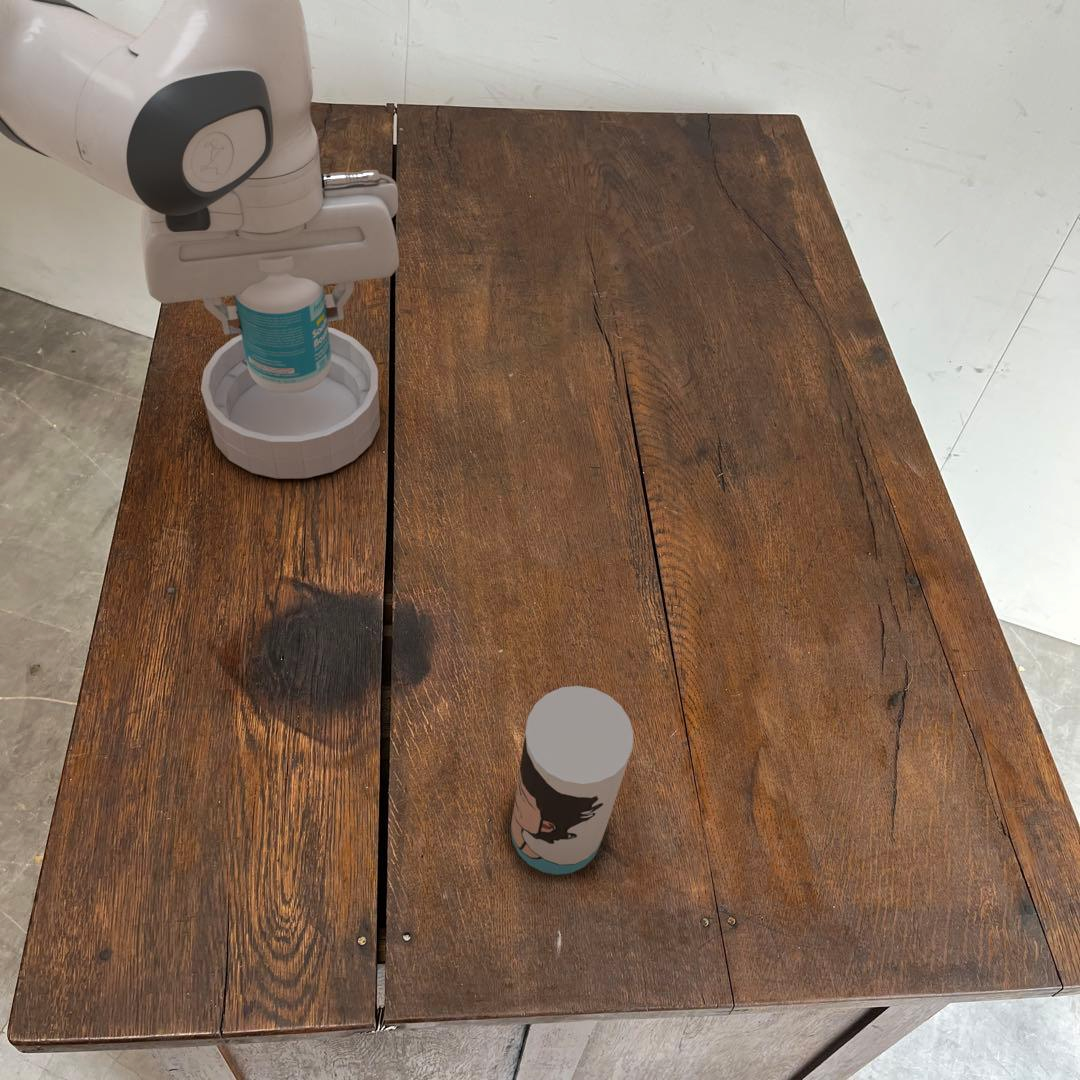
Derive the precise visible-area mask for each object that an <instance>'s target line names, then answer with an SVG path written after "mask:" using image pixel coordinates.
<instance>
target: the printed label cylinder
mask: <svg viewBox="0 0 1080 1080" xmlns="http://www.w3.org/2000/svg"><path fill="white" fill-rule="evenodd" d="M633 745H634V730H633V726H632V722H631V719H630V717H629V716H628V714H627V713H626V711H625V710H624V708H623V706H622V705H621V704H620V703H618V701H616V700H615V699H614V698H613V697H612V696H610V695H609V694H606V693H604V692H602V691H600V690H598V689H597V688H594V687H588V686H581V685H573V686H572V685H571V686H563V687H560V688H557V689H554V690H553V691H549V692H548V693H546V694H545V695H544V696H543V697H542V698H540V699H539V700H538V701H537V702H535V704H534V706H533V707H532V709H531V711H530V712H529V714H528V716H527V721H526V726H525V732H524V739H523V745H522V753H521V759H520V766H519V772H518V776H517V777H518V779H517V785H516V792H515V798H514V802H513V803H514V805H513V811H512V816H511V817H512V818H511V824H510V834H511V840H512V843H513V846H514V847H515V849H516V852H517V854H518V856H520V857H521V859H523V860H524V862H526V864H528V865H529V866H530V867H531V868H534V869H535V870H538V871H540V872H542V873H544V874H545V873H546V874H551V875H556V876H559V875H567V874H573V873H574V872H577V871H578V870H581V869H583V868H585V867H586V866H588V864H589V863H590V862H591V861H592V860H593V859H594V858H595V857H596V855H597V853H598V850H599V849H600V846H601V844H602V842H603V838H604V835H605V833H606V829H607V826H608V823H609V820H610V818H611V814H612V812H613V808H614V805H615V803H616V800H617V796H618V793H619V790H620V787H621V785H622V781H623V778H624V775H625V772H626V769H627V766H628V763H629V761H630V757H631V755H632V752H633Z"/></svg>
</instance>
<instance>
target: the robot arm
mask: <svg viewBox="0 0 1080 1080" xmlns="http://www.w3.org/2000/svg"><path fill="white" fill-rule="evenodd" d="M307 31H308V30H307V25H306V21H305V16H304V11H303V8H302V4H301V1H300V0H164V1H163V3H162V5H161V7H160V9H159V10H158V12H157V13H156V15H155V16H154V18H153V20H152V21H151V22H150V23H149V25H148V26H147V27H146V28H145V29H144V31H143V32H142V33H141V34H139V35H138V36H136V35H134V34H132V33H130V32H127V31H125V30H123V29H120V28H119V27H117V26H115V25H112V24H110V23H108V22H106V21H104V20H101V19H99V18H98V17H97V16H95V15H94V14H91V13H90V12H89V11H86V10H84V9H82V8H81V7H79V6H78V5H75V4H73V3H71V2H70V1H68V0H0V134H2V135H3V136H4V137H6V138H7V139H8V140H10V141H11V142H13V143H15V144H16V145H18V146H20V147H23V148H25V149H27V150H31V151H32V152H34V153H36V154H40V155H42V156H44V157H47V158H49V159H53V160H55V161H56V162H59V163H60V164H62V165H64V166H66V167H68V168H70V169H72V170H74V171H75V172H77V173H79V174H81V175H83V176H84V177H86V178H89V179H91V180H93V181H94V182H96V183H98V184H100V185H101V186H104V187H106V188H108V189H110V190H112V191H114V192H116V193H118V194H120V195H121V196H122V197H125V198H127V199H129V200H131V201H133V202H135V203H137V204H139V205H141V206H143V209H142V211H141V217H140V234H141V246H142V248H141V249H142V259H143V266H144V273H145V281H146V285H147V286H146V287H147V291H148V294H149V296H150V297H152V298H153V299H154V300H156V301H157V302H158V303H160V304H165V305H168V304H176V303H185V302H191V301H192V302H193V301H201V300H202V301H203V305H204V306H203V307H204V308H205V309H206V310H207V311H208V312H210V313H211V314H212V315H213V316H214V317H215V318H216V319H217V320H218V321H219V322H221V326H222V331H223V334H224V335H225V336H227V335H235V334H241V333H242V331H241V326H240V321H239V316H238V313H237V308H236V305H227V304H225V302H224V301H223V300H222V298H225V297H234V296H235V295H241V294H242V292H243V291H244V290H245V289H247V288H248V287H249V286H251V285H253V284H256V283H259V282H262V281H264V280H265V279H266V278H267V277H268V274H263V272H262V271H259V259H266V258H275V257H284V256H292V257H293V262H294V268H292V271H289V272H288V274H289V275H290V276H292V277H296V278H305V279H309V280H311V281H314V282H315V283H317V284H318V285H324V286H327V285H335V286H334V288H333V290H332V292H331V293H328V294H325V304H326V314H327V323H328V322H335V321H336V322H337V321H344V320H345V316H344V306H345V305H346V304H347V303H348V300H349V299H350V298H351V296H352V294H353V292H354V291H355V289H356V288H355V282H362V281H368V280H369V281H370V280H379V279H386V278H387V279H388V278H390V277H392V276H393V275H394V274H395V272H396V271H397V270H398V268H399V267H400V255H399V247H398V241H397V236H396V231H395V227H394V224H393V223H394V222H393V220H392V219H393V218H394V217H395V216H396V214H397V213H398V209H399V205H400V202H399V201H400V200H399V198H400V197H399V187H398V184H397V183H396V181H395V180H394V179H393V178H391V176H389V175H386V174H382V173H380V172H379V170H377V169H364V170H360V171H356V172H348V171H345V172H344V171H343V172H341V171H340V172H339V171H338V172H329V173H327V172H326V173H322V168H321V158H320V157H321V156H320V146H319V138H318V133H317V131H316V128H315V126H314V123H313V121H312V117H311V104H312V100H313V95H314V80H313V72H312V71H313V70H312V69H313V68H312V61H311V51H310V46H309V39H308V38H309V37H308V32H307Z"/></svg>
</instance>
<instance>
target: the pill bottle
mask: <svg viewBox="0 0 1080 1080" xmlns="http://www.w3.org/2000/svg"><path fill="white" fill-rule="evenodd" d="M292 268H294V262H293V257H292V256H284V257H275V258H266V259H259V271H262V272H263V274H268V277H267V278H266V279H265V280H264V281H262V282H259V283H256V284H253V285H251V286H249V287H248V288H247V289H245V290H244V291H243V292H242V294H241V295H235V296H233V298H234V302H235V303H234V304H235V306H236V308H237V313H238V316H239V321H240V326H241V331H242V333H240V335H242V340H243V345H244V351H245V356H246V361H247V366H248V370H249V373H250V375H251V377H252V378H253V380H254V381H255V382H256V383H257V384H258V385H260V386H261V387H263V388H265V389H267V390H269V391H272V392H276V393H284V394H292V393H299V392H304V391H307V390H310V389H312V388H314V387H316V386H317V385H319V384H320V383H321V382H322V381H323V380H324V379H325V378H326V377H327V375H328V374H329V371H330V368H331V352H330V342H329V333H328V327H329V323H328V322H327V314H326V304H325V295H326V294H325V285H318V284H317V283H315V282H314V281H311V280H309V279H305V278H296V277H292V276H290V275H289V274H288V272H289V271H292Z"/></svg>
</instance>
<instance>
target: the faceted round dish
mask: <svg viewBox="0 0 1080 1080" xmlns="http://www.w3.org/2000/svg"><path fill="white" fill-rule="evenodd" d="M328 333H329V342H330V352H331V368H330V371H329V374H328V375H327V377H326V378H325V379H324V380H323V381H322V382H321V383H320V384H319V385H317V386H316V387H314V388H312V389H310V390H307V391H304V392H299V393H292V394H284V393H276V392H272V391H269V390H267V389H265V388H263V387H261V386H260V385H258V384H257V383H256V382H255V381H254V380H253V378H252V377H251V375H250V373H249V370H248V366H247V361H246V356H245V351H244V345H243V340H242V335H241V334H239V335H237V336H234V337H233V338H231V339H230V340H229V341H228V342H226V343H225V344H223V345H222V346H221V347H220V348H219V349H217V350H216V351H215V352H214V353H213V355H212V357H211V358H210V359H209V361H208V363H207V364H206V366H205V367H204V369H203V374H202V378H201V385H200V392H201V397H202V400H203V405H204V409H205V412H206V417H207V421H208V426H209V430H210V432H211V435H212V438H213V441H214V444H215V446H216V447H217V448H218V450H219V451H220V452H221V453H222V454H223V455H224V456H225V457H226V458H227V459H228V461H230V462H231V463H233V464H235V465H236V466H238V467H240V468H242V469H244V470H245V471H247V472H249V473H251V474H254V475H259V476H264V477H267V478H268V477H269V478H272V479H278V480H279V479H280V480H281V479H282V480H283V479H308V478H312V477H316V476H317V477H318V476H321V475H326V474H328V473H333V472H335V471H337V470H339V469H341V468H342V467H344V466H346V465H349V464H350V463H352V462H354V461H356V460H357V459H358V458H359V456H361V455H362V454H363V453H364V452H365V451H366V450H367V449H368V448H369V447H370V446H371V445H372V443H373V442H374V439H375V437H376V435H377V432H378V430H379V429H380V426H381V399H380V398H381V397H380V396H381V395H380V380H379V379H380V378H379V369H378V367H377V364H376V362H375V360H374V358H373V356H372V353H371V352H370V351H369V350H368V349H367V348H366V347H365V346H363V344H361V343H360V342H359V341H358V340H357V339H356V338H355V337H353V336H351V335H349V334H347V333H345V332H342V331H341V330H338V329H336V328H335V327H330V326H328Z"/></svg>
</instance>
